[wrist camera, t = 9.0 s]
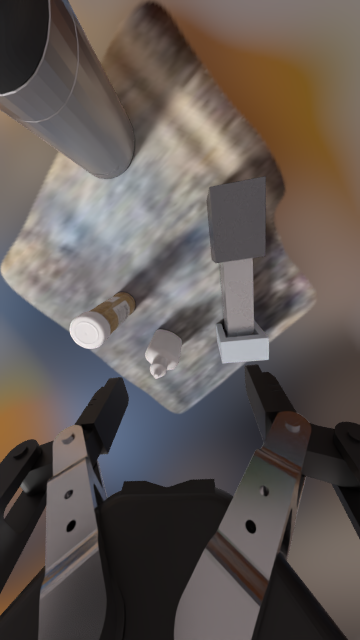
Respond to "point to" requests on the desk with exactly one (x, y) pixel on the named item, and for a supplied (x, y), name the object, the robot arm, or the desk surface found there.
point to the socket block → (243, 346)
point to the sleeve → (237, 220)
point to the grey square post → (237, 297)
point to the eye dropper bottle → (163, 352)
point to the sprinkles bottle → (101, 321)
